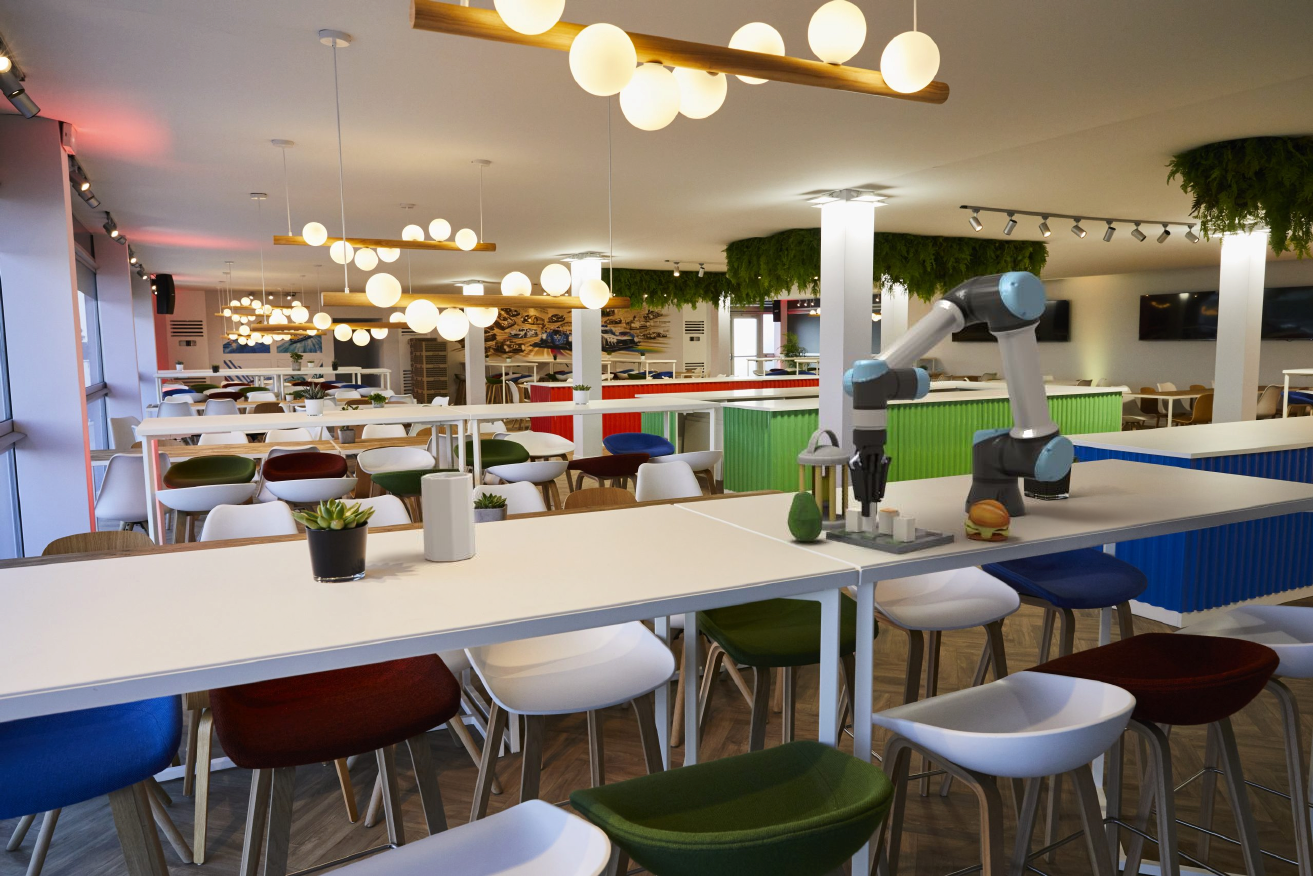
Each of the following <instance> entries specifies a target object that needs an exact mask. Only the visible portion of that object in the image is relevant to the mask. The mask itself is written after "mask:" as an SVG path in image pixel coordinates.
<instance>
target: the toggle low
mask: <svg viewBox="0 0 1313 876" xmlns="http://www.w3.org/2000/svg"><path fill="white" fill-rule="evenodd" d="M862 529H863V517H862V514H861V508H858V507H857V508H855V507H852V508H848V509H846V530H849V531H854V532H861V531H865V530H862Z"/></svg>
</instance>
